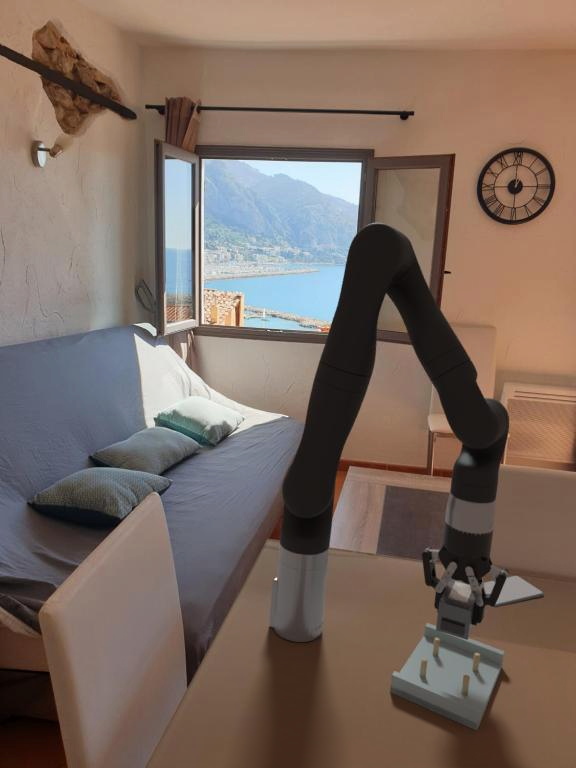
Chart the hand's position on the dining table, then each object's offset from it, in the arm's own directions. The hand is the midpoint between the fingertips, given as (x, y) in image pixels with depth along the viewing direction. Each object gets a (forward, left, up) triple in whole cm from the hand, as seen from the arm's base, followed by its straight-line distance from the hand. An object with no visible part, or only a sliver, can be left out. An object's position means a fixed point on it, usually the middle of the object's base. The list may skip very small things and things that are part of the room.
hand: (457, 616), depth 98 cm
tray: (0, 0, -12) cm, 12 cm away
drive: (0, 0, -1) cm, 1 cm away
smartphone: (+2, +37, -12) cm, 39 cm away
